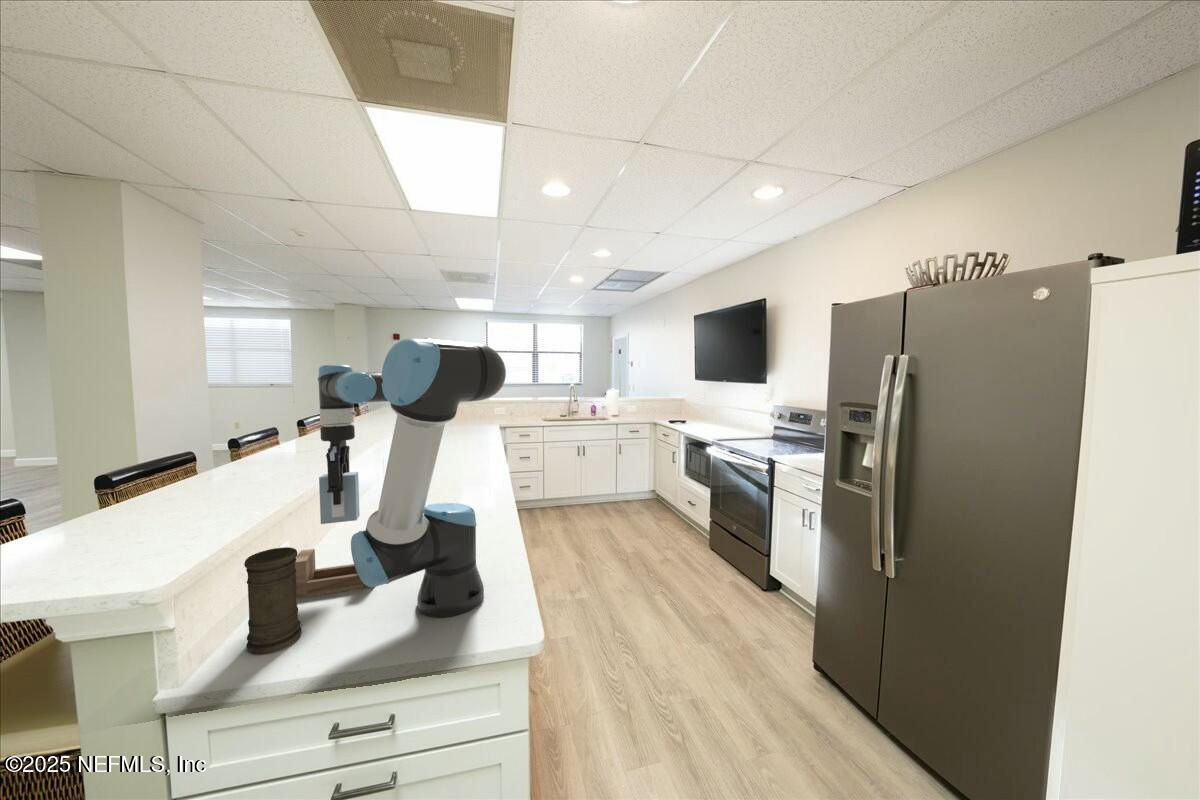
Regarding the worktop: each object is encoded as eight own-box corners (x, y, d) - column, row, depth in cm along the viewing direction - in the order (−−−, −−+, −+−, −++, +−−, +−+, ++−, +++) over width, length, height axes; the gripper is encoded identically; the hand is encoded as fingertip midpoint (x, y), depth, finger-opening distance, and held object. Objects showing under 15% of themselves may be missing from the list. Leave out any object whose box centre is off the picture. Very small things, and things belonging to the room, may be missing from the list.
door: (356, 520, 108) (355, 474, 108) (320, 524, 106) (319, 477, 105) (359, 515, 112) (358, 471, 112) (325, 519, 109) (323, 474, 109)
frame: (375, 586, 107) (375, 551, 107) (292, 599, 101) (291, 562, 100) (379, 572, 115) (379, 540, 114) (302, 584, 108) (301, 550, 108)
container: (291, 651, 82) (288, 561, 81) (236, 659, 79) (232, 567, 78) (309, 625, 90) (306, 543, 89) (259, 632, 88) (256, 548, 87)
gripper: (346, 427, 101) (349, 522, 102) (360, 421, 117) (363, 503, 118) (310, 428, 99) (313, 525, 100) (329, 422, 115) (332, 506, 116)
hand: (340, 513), depth 109 cm, fingers closed on door, 4 cm apart
